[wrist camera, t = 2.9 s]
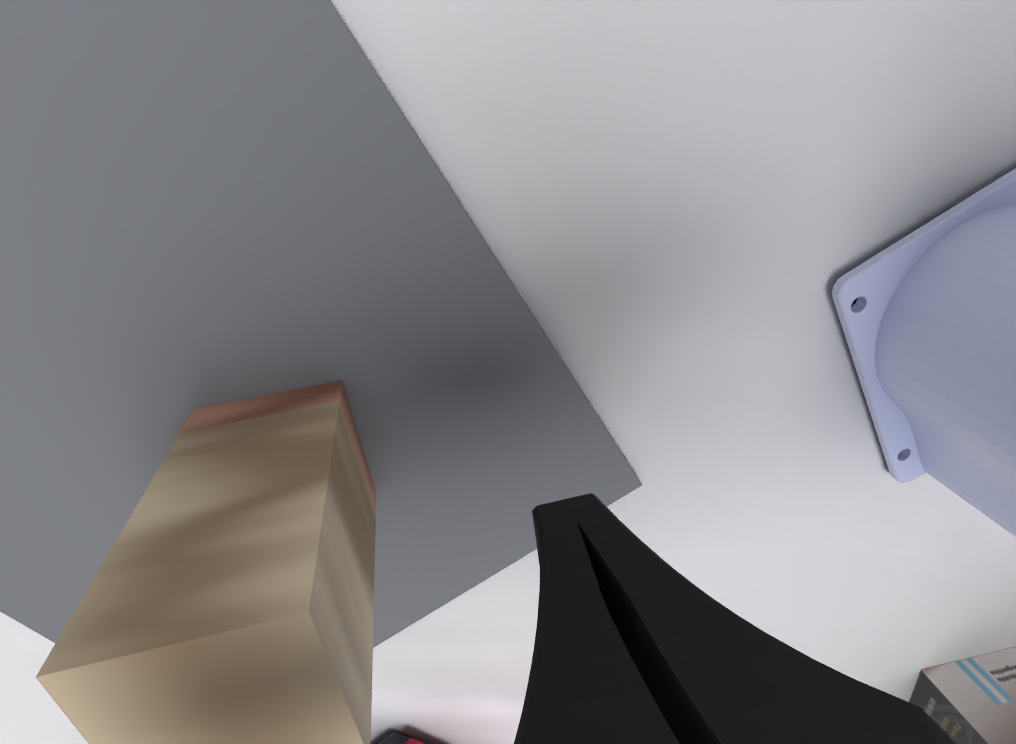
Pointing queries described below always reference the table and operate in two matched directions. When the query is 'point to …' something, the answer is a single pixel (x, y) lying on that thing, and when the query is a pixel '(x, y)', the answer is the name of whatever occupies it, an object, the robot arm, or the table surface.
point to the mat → (253, 294)
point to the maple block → (235, 588)
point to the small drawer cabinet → (398, 739)
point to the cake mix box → (972, 697)
